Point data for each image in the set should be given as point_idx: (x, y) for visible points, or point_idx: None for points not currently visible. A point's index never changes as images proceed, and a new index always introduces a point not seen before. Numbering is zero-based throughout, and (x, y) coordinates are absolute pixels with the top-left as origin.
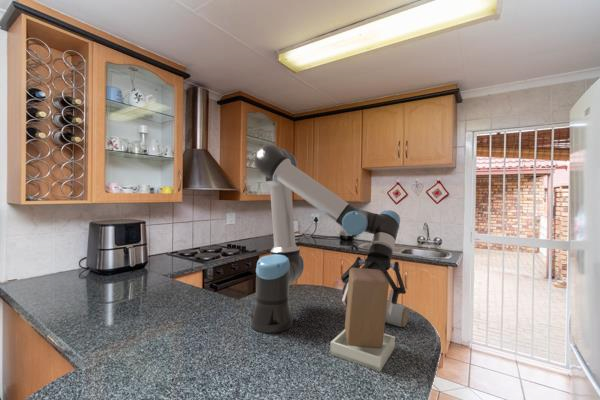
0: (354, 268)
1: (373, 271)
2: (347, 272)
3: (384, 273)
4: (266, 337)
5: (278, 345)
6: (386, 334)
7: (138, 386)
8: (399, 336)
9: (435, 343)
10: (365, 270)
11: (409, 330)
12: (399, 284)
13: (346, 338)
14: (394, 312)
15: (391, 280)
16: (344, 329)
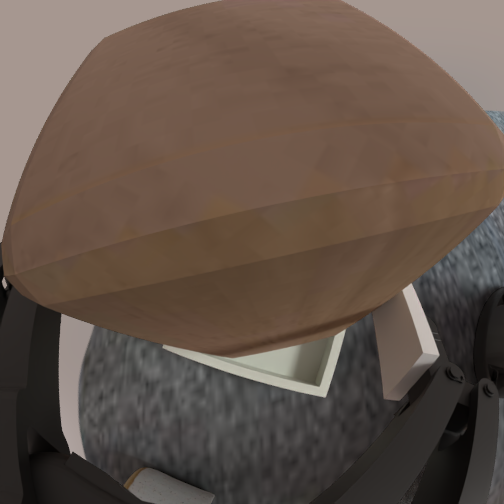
0: (461, 99)
1: (132, 101)
2: (484, 442)
3: (22, 387)
4: (491, 271)
5: (462, 247)
6: (189, 357)
7: (495, 120)
8: (159, 421)
9: (78, 394)
10: (275, 71)
11: (133, 459)
12: (2, 262)
13: (326, 338)
14: (159, 492)
15: (17, 301)
16: (341, 345)
